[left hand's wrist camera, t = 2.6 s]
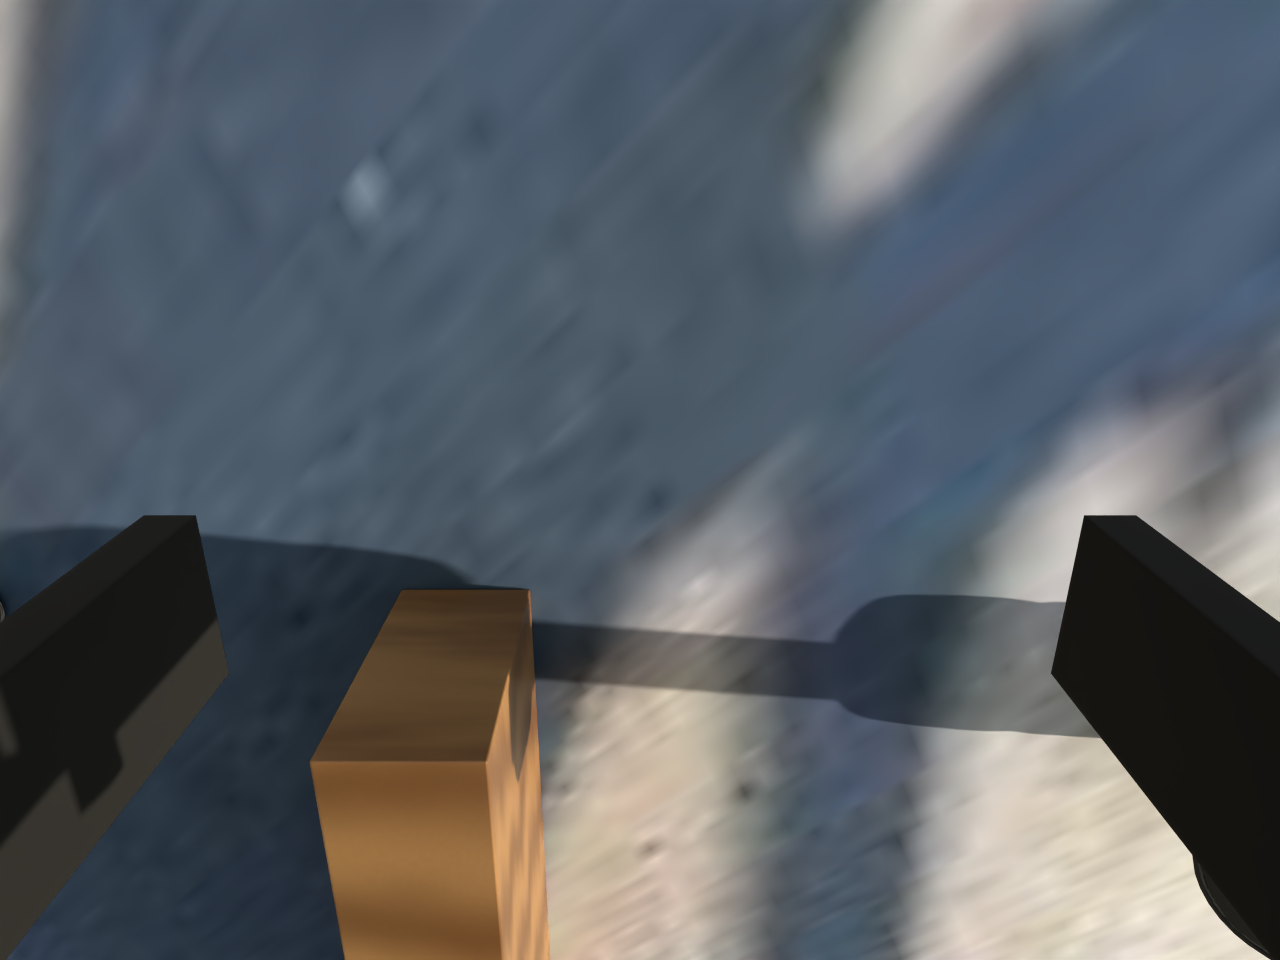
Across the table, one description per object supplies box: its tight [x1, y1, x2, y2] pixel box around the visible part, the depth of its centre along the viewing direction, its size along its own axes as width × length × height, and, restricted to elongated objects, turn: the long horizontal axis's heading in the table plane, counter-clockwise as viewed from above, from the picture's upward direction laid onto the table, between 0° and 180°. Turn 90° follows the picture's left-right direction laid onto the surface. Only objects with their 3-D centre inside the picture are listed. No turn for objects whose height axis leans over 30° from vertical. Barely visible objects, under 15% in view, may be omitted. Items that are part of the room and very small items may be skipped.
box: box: [310, 590, 550, 960], centre depth 41 cm, size 28×6×13 cm, turn 0°
